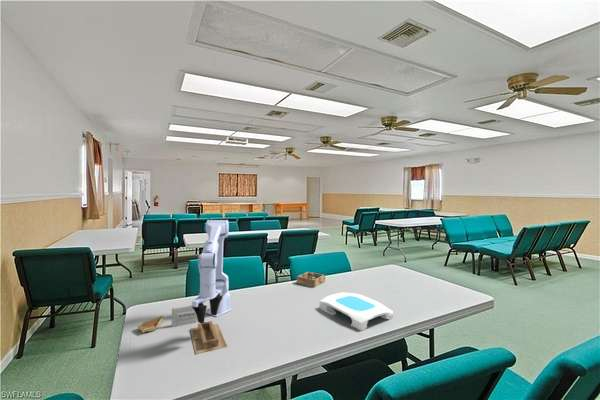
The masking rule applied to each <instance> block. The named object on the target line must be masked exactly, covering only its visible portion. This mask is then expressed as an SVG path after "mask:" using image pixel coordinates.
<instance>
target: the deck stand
mask: <svg viewBox="0 0 600 400" xmlns="http://www.w3.org/2000/svg"><path fill="white" fill-rule="evenodd" d="M312 272H313V271H312ZM312 272H310V271H306V272H304V273H302V274H299V275H297V276H296V284H297V285H300V286H306V287H310V288H316V287H318V286H320V285H321V284H324V283H326V275H325V274H322V273H321V274H320V273H316V272H313V273H312ZM310 274H313V275H310ZM309 277H310V278H309ZM312 277H315V278H313V279H312Z"/></svg>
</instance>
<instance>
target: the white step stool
mask: <svg viewBox="0 0 600 400" xmlns="http://www.w3.org/2000/svg"><path fill="white" fill-rule="evenodd" d="M319 309H320V310H321V311H323V312H324V311H325V312H324V313H326V312H327V313H326V314H328V313H329V315H332V316H335V315H337V314H336V312H337V311H339V312H341V313H342V314H343V315H345V316H348V317H349V318H350V319H351V325H350V326H351V327H352V326H353V328H354V327H355V328H354V329H356V328H357V329H356V330H358V329H359V330H358V331H361V330H362V331H364V330H363V329H365V328H367V329H368V323H369V321H370V320H373V319H374V318H377V317H379V316H380V317H379V318H381V317H382V318H381V319H384V320H386V319H390V320H392V318H393V319H394V311H393V310H392V309H390V308H388V307H387V306H386V305H384V304H383V303H381V302H379V301H377V300H374V299H372V298H370V297H367V296H365V295H363V294H358V293H354V292H352V293H351V292H339V293H333V294H330V295H327V296H325V297H324V298H322V299H320V300H319ZM335 310H337V311H335ZM334 314H335V315H334ZM365 330H366V329H365Z"/></svg>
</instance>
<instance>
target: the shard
mask: <svg viewBox="0 0 600 400" xmlns="http://www.w3.org/2000/svg"><path fill="white" fill-rule="evenodd" d="M163 317H164V315H161V316H159V317H157V318H156V317H155V318H152V319H150V320H148V321H144V322H142V323H139V324H137V326H136V328H137V330H139V331H141V332H142V333H143V334H145V333H146V332H153V331H155V330H156V329H157V328H158V326H160V324H161V322H162V320H163Z"/></svg>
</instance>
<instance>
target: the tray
mask: <svg viewBox="0 0 600 400" xmlns="http://www.w3.org/2000/svg"><path fill="white" fill-rule="evenodd" d="M190 336H191V340H192V344H193V350H194V354H195V356H196V355H198V354H203V353H207V352H212V351H215V350H220V349H225V348H227V347H228V345H227V343H226V340H225V338H224V335H223V333H222V330H221V328H220V326H219V323H214V324H213V321H212V320H209V321H204V323H199V322H197V327H192V328H191V327H190Z"/></svg>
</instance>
